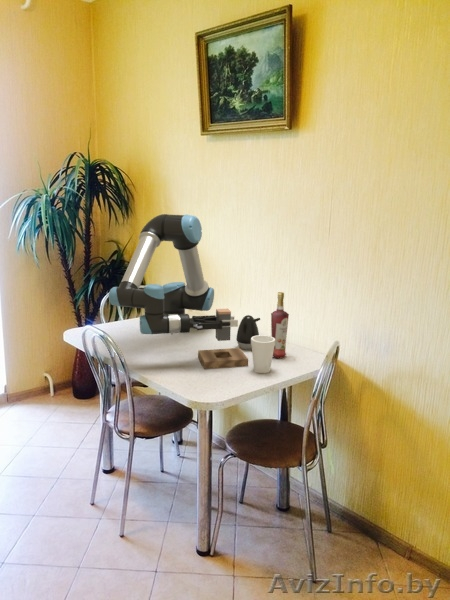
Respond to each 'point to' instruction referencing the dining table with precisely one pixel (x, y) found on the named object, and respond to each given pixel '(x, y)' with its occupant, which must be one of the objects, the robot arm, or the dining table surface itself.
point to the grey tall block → (225, 331)
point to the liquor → (279, 328)
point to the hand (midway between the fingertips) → (235, 321)
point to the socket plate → (222, 358)
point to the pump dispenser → (247, 332)
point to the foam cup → (262, 352)
